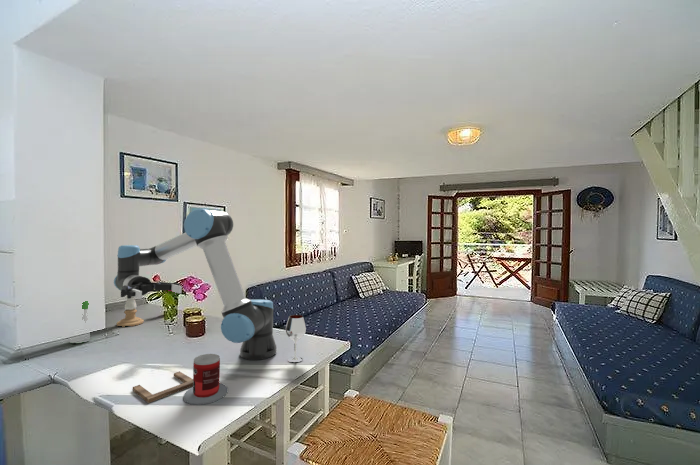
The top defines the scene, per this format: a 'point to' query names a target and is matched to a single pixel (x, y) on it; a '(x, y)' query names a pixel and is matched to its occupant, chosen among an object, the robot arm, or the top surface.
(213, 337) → the top surface
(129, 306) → the candle holder
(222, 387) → the slate mat
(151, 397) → the walnut cradle
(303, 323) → the wineglass
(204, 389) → the canned food
